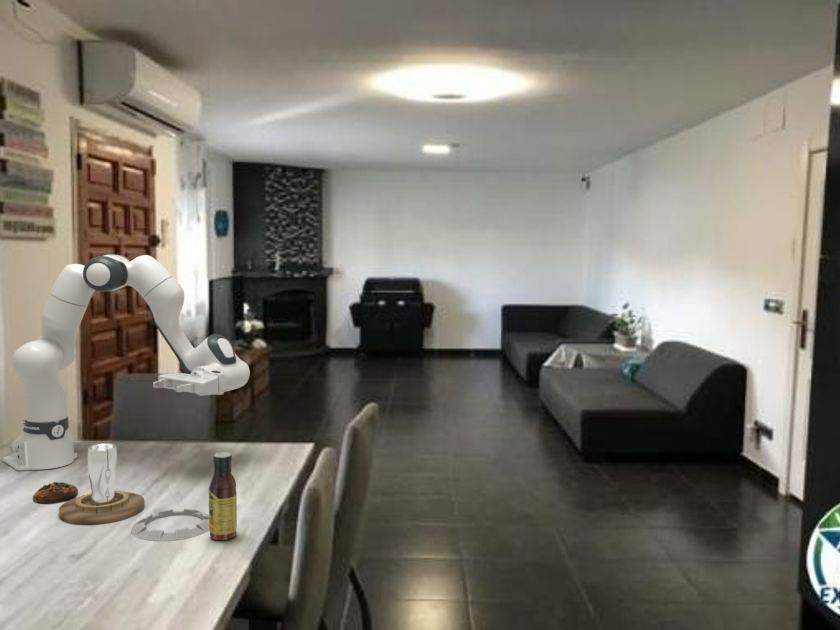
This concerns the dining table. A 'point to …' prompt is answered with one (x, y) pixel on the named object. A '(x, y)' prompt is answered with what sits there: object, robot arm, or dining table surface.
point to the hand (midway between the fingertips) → (165, 387)
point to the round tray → (101, 517)
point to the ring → (180, 534)
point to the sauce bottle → (222, 499)
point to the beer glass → (102, 473)
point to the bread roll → (55, 493)
